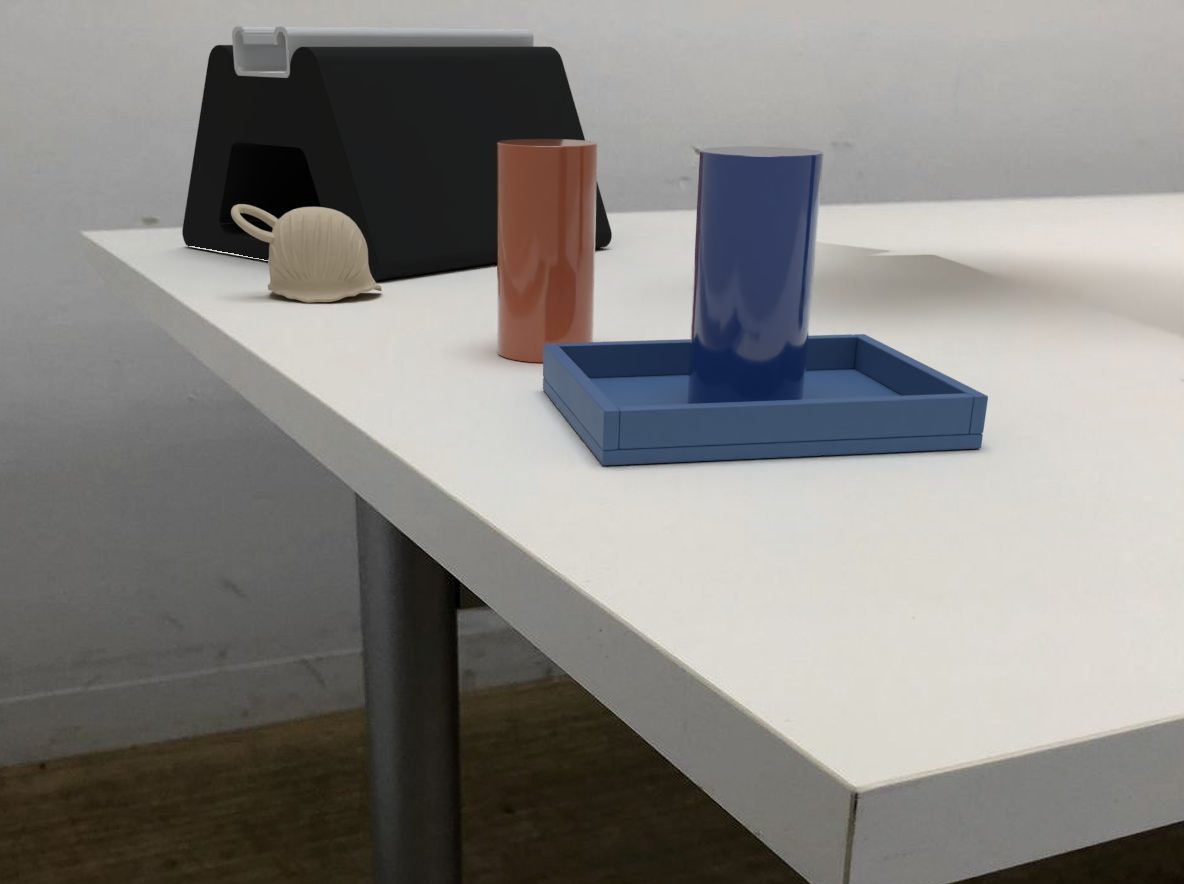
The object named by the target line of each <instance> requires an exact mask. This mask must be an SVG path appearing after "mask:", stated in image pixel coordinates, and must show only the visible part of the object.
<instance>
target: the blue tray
mask: <svg viewBox="0 0 1184 884" xmlns="http://www.w3.org/2000/svg"><path fill="white" fill-rule="evenodd" d="M689 355H690V338H686V339H685V338H683V339H653V340H651V339H650V340H648V339H647V340H621V341H620V340H619V341H616V340H615V341H593V342H580V343H557V344H556V343H546V344H543V363H542V377H543V378H542V390H543V391H544V393H545V394H546V396H547V397H548V398H549V400H550V401H552V403H553V404H554V405H555V406H556V408H557V409H558V410H559V412H560V413H561V414H562V416H563V417H564V418H565V419H566V421H567V423H569V424H570V425H571V427H572V428H573V429H574V431H575V432H576V433H577V435H578V436H579V437H580V438H581V440H582V441H583V443H585V445H586V446H587V447H588V448H589V450H590V451H591V452H592V453H593V455H594V456H595V457H596V458H597V460H598V461H599V462H600V464H601V465H602V466H623V465H644V464H665V463H668V464H669V463H689V462H710V461H729V460H730V461H732V460H733V461H734V460H736V461H737V460H754V459H776V458H777V459H778V458H780V459H781V458H799V457H820V456H822V455H823V456H843V455H865V454H866V455H867V454H886V453H888V454H889V453H907V452H909V453H910V452H911V453H912V452H929V451H932V452H933V451H950V450H952V451H953V450H974V449H975V450H976V449H981V448H982V444H983V438H984V437H983V436H984V434H983V433H984V431H985V422H986V416H987V407H988V401H989V396H988V395H987V394H984V393H983V392H980V391H979V390H976V389H974V388H972V387H970V386H969V385H966V384H965V383H962V382H960V381H958V380H956V379H955V378H953V377H951V376H949V375H947V374H945V373H943V372H941V371H939V370H937V369H935V368H932V367H931V366H929V365H927V364H925V363H923V362H921V361H919V360H917V359H915V358H914V357H911V356H909V355H907V354H905V353H903V352H901V351H899V350H897V349H895V348H893V347H891V346H890V345H888V344H885V343H883V342H881V341H879V340H877V339H876V338H873V337H871V336H870V335H867V334H865V333H860V334H859V333H857V334H856V333H855V334H853V333H851V334H850V333H849V334H819V335H818V334H816V335H808V346H807V358H806V369H805V381H804V393H803V400H778V401H752V402H725V403H699V404H689V403H688V401H687V395H688V375H689Z"/></svg>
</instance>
